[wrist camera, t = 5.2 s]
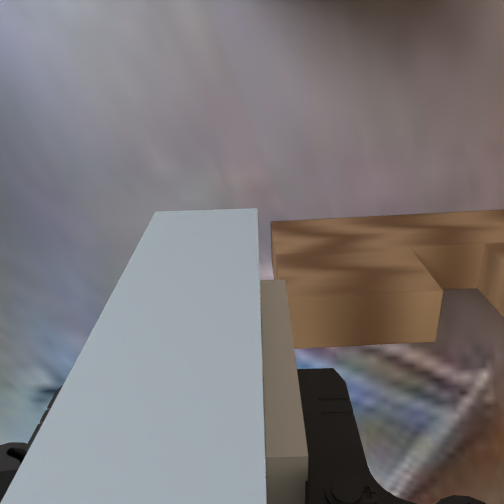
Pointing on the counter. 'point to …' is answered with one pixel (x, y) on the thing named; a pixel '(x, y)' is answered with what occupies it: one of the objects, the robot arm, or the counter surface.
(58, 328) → the counter surface
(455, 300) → the counter surface
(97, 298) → the counter surface
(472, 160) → the counter surface
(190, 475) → the grey flat rectangular block
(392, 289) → the walnut board
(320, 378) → the robot arm
